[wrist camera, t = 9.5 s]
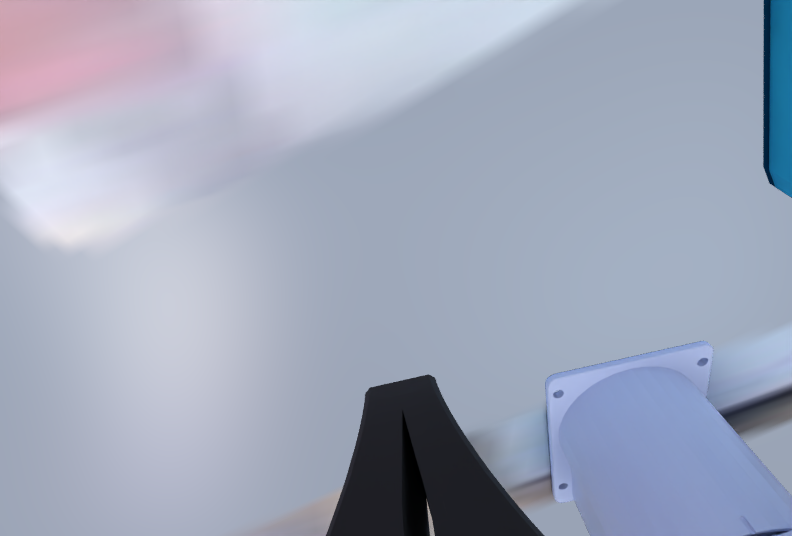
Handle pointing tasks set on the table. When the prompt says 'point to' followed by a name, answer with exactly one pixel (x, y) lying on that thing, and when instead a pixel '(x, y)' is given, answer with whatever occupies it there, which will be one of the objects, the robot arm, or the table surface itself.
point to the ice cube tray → (777, 94)
